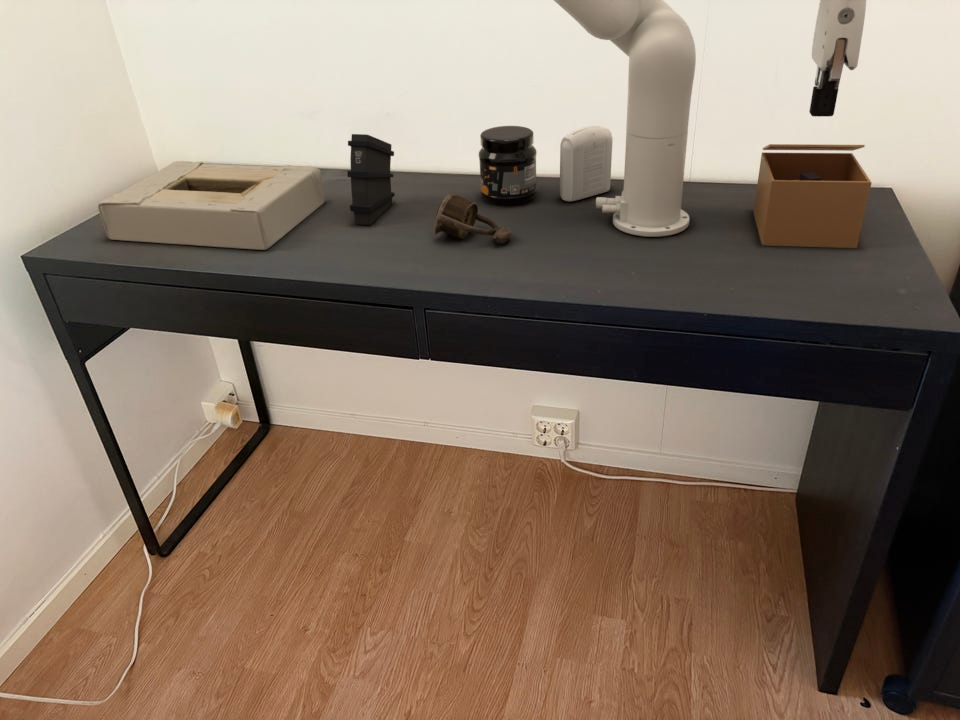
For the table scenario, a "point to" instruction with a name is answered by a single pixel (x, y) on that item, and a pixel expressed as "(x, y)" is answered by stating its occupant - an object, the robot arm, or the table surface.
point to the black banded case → (370, 178)
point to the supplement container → (508, 165)
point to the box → (214, 205)
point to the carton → (810, 200)
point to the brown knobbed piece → (466, 220)
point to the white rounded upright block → (585, 163)
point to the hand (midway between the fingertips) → (821, 114)
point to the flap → (812, 147)
